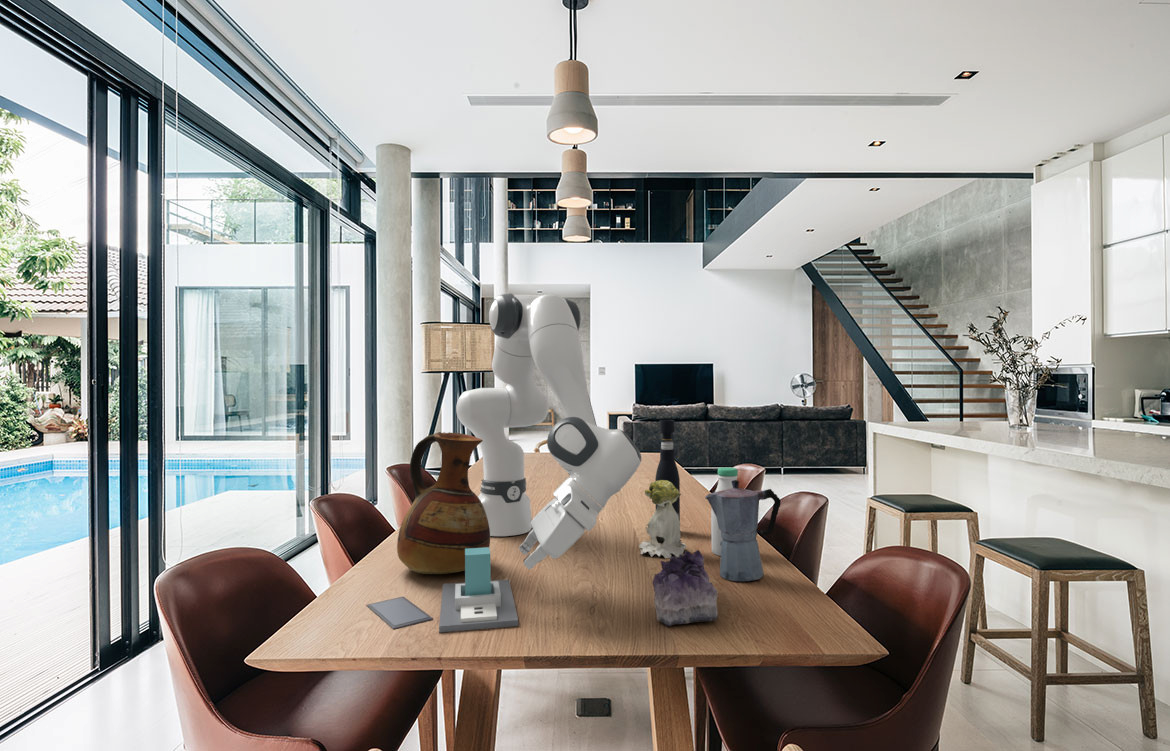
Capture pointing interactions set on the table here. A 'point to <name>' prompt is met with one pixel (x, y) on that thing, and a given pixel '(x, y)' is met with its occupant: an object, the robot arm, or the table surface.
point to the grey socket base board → (477, 608)
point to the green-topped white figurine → (663, 522)
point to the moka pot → (741, 530)
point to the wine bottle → (668, 461)
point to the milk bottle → (724, 483)
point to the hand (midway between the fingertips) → (523, 558)
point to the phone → (399, 612)
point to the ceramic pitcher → (443, 510)
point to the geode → (684, 591)
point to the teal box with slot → (477, 571)
